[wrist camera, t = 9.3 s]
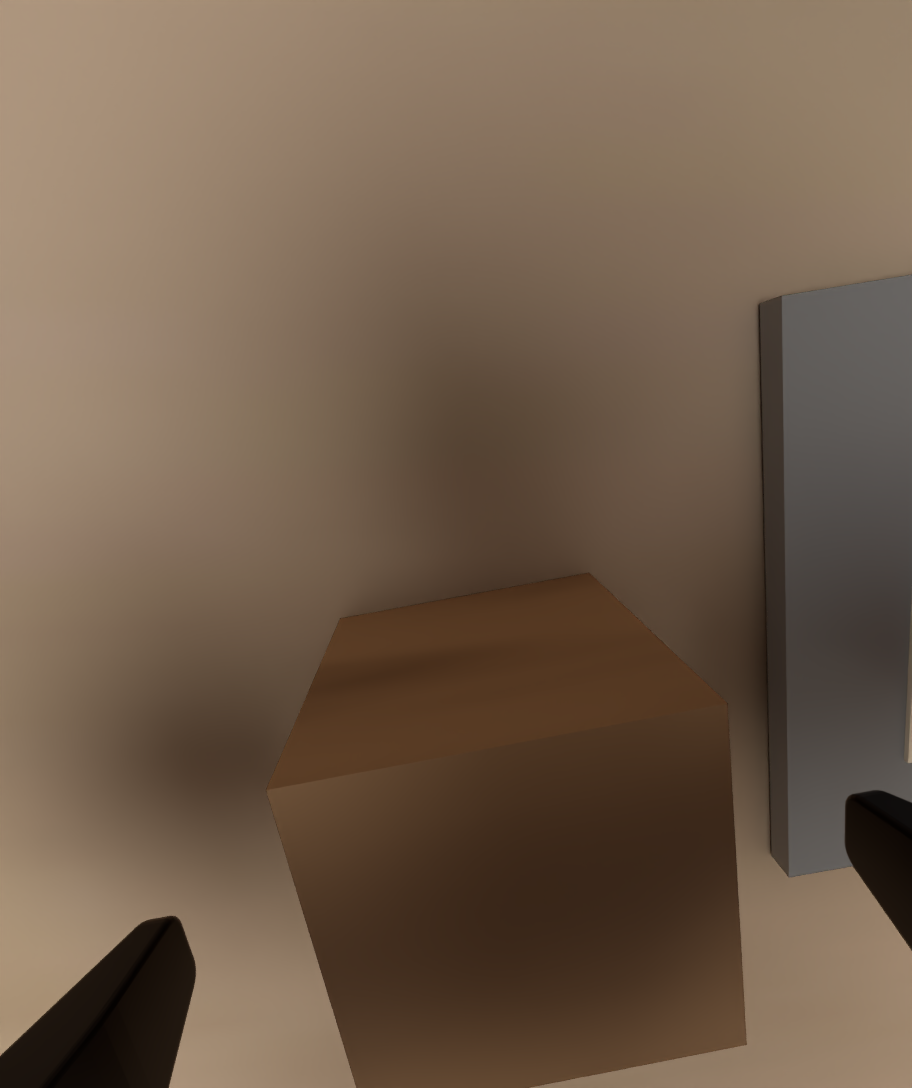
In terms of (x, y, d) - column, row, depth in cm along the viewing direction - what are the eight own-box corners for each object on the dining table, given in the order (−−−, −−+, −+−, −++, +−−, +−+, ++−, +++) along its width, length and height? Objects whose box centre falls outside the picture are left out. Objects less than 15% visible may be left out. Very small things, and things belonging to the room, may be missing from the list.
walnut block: (613, 784, 12) (746, 1044, 7) (391, 826, 12) (366, 1120, 7) (587, 571, 10) (727, 702, 6) (340, 617, 10) (266, 790, 6)
